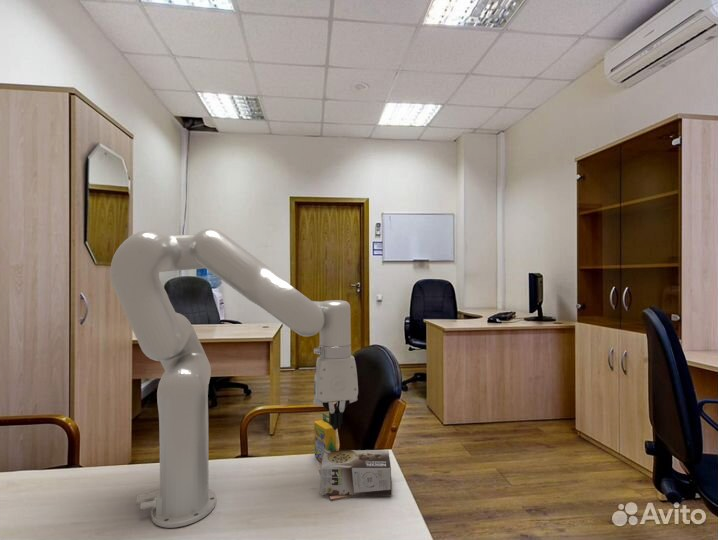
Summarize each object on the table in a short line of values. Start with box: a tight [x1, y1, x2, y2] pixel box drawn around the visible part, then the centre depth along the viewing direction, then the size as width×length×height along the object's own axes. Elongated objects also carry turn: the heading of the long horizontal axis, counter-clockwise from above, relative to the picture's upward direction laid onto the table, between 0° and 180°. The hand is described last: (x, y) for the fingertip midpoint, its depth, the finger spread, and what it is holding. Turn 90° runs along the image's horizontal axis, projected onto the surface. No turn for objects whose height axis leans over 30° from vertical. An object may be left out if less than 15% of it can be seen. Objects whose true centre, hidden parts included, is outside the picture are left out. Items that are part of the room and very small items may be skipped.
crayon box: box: [313, 412, 337, 463], centre depth 100 cm, size 7×3×12 cm, turn 33°
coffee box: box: [319, 449, 393, 497], centre depth 88 cm, size 9×6×16 cm
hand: (335, 427), depth 91 cm, fingers closed
